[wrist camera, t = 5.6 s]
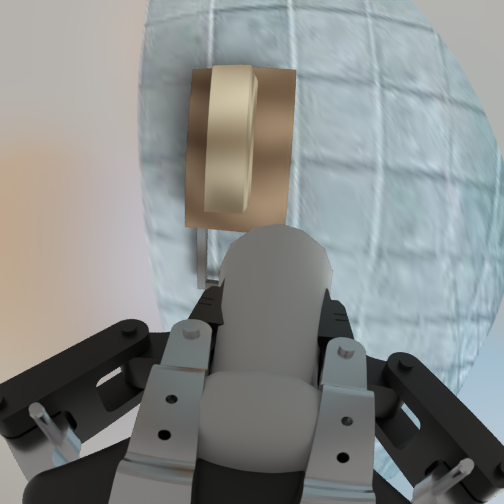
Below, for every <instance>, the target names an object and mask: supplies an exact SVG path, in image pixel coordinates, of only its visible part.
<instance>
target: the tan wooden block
mask: <svg viewBox="0 0 504 504" xmlns="http://www.w3.org/2000/svg"><path fill="white" fill-rule="evenodd" d="M295 87H296V70H291V69H277V68H252V66H251V65H213V68H210V69H195V70H193V74H192V83H191V94H190V106H189V120H188V136H187V155H186V186H185V227H191V228H197V283H198V289H203V290H206V289H208V288H209V287H211V286H218V284H219V281H217V280H209V279H207V238H208V229H215V230H226V231H237V232H249V231H250V230H252V229H253V228H258V227H263V226H267V225H272V224H277V223H279V224H283V225H285V223H286V212H287V201H288V190H289V178H290V165H291V152H292V137H293V122H294V106H295Z"/></svg>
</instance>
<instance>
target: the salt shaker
mask: <svg viewBox="0 0 504 504" xmlns="http://www.w3.org/2000/svg"><path fill="white" fill-rule="evenodd" d="M332 277H333V270H332V267H331V264H330V262H329V259H328V256H327V254H326V251H325V248H324V247H322V246H321V245H320V244H319V243H318V242H317V241H315V240H314V239H313V238H312V237H310V236H309V235H308V234H307V233H306V232H304V231H303V230H300V229H297V228H293V227H290V226H286V225H283V224H279V223H277V224H272V225H267V226H263V227H258V228H253V229H252V230H250V231H249V232H247V233H246V234H245V235H243V236H242V237H240V238H239V239H238V240H236V241H235V242H233V243H232V244H231V245H230V247H229V249H228V251H227V253H226V255H225V258H224V260H223V262H222V264H221V266H220V275H219V284H218V286H219V287H220V286H221V284H222V282H223V280H224V278H225V282H224V289H223V297H222V304H221V308H222V315H223V321H224V325H221V326H218V331H217V337H216V344H215V350H214V355H213V359H212V362H211V365H210V375H209V376H207V377H206V378H205V381H204V387H203V393H202V397H201V399H200V420H199V458H201V459H203V460H206V461H208V462H211V463H214V464H217V465H221V466H225V467H229V468H234V469H238V470H243V471H252V472H263V473H284V472H295V471H303V468H304V466H305V463H306V460H307V457H308V455H309V452H310V449H311V446H312V443H313V438H314V434H315V429H316V425H317V420H318V414H319V407H320V400H321V391H320V390H318V368H319V362H320V348H319V346H318V340H317V338H318V327H319V320H320V314H321V308H322V304H323V300H324V295H325V291H326V288H328V290H329V294H331V286H332Z"/></svg>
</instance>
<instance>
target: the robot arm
mask: <svg viewBox="0 0 504 504" xmlns="http://www.w3.org/2000/svg"><path fill="white" fill-rule="evenodd" d="M224 282H225V278H224V280H223V282H222V284H221V286H220V287H219V286H211V287H209V288H208V289H206V290H205V291H204V292H203V294H202V296H201V298H200V299H199V301H198V304H196V306H195V308H194V309H193V311H192V313H191V314H190V316H189V318H188V319H187V320H182V321H180V322H178V323H176V324H175V325H174V326H173V327H172V329H171V332H162V333H149V329H148V326H147V325H146V324H145V323H144V322H142V321H140V320H136V319H127V320H123V321H120V322H118V323H116V324H114V325H112V326H110V327H108V328H107V329H104V330H103V331H101V332H99V333H97V334H95V335H93V336H91V337H89V338H87V339H85V340H84V341H82V342H80V343H78V344H76V345H74V346H72V347H70V348H68V349H66V350H64V351H62V352H61V353H59V354H57V355H55V356H53V357H51V358H49V359H47V360H45V361H43V362H41V363H40V364H38V365H36V366H34V367H32V368H30V369H28V370H26V371H24V372H22V373H21V374H19V375H17V376H15V377H13V378H11V379H9V380H7V381H6V382H3V383H1V384H0V435H1V436H2V437H3V438H4V439H5V440H6V441H7V443H8V445H9V448H10V450H11V452H12V453H13V456H14V457H15V459H16V461H17V463H18V465H19V467H20V468H21V470H22V472H23V474H24V475H25V477H26V479H27V480H28V482H29V483H28V484H27V486H26V488H25V490H24V493H23V499H22V500H23V501H22V502H23V504H485V503H486V502H488V501H489V500H491V499H492V498H494V497H495V496H497V495H498V494H500V493H501V492H502V491H504V446H503V445H502V444H501V443H500V441H499V440H498V439H497V438H496V437H495V436H494V435H493V434H492V433H491V432H490V431H489V430H488V429H487V428H486V427H485V425H483V424H482V422H481V421H480V420H479V419H478V418H477V417H476V416H475V415H474V414H473V413H472V412H471V411H470V410H469V409H468V408H467V407H466V406H465V405H464V404H463V403H462V402H461V401H460V400H459V399H458V398H457V397H456V396H455V395H454V394H453V393H452V392H451V391H450V390H449V389H448V388H447V387H446V386H445V385H444V384H443V383H442V382H441V381H440V380H439V379H438V378H437V377H436V376H435V375H434V374H433V373H432V372H431V371H430V370H429V369H428V368H427V367H426V366H425V365H424V364H422V363H421V362H420V361H419V360H418V359H417V358H416V357H414V356H413V355H411V354H408V353H404V352H397V353H393V354H391V355H390V356H389V358H388V360H387V361H383V360H379V359H375V358H372V357H369V356H367V355H366V351H365V348H364V347H363V346H362V345H361V344H360V343H359V342H357V341H356V340H354V337H353V333H352V330H351V326H350V323H349V319H348V316H347V313H346V309H345V307H344V306H343V305H342V304H341V303H340V302H339V301H338V300H331V298H330V294H329V290H328V288H326V291H325V295H324V300H323V304H322V308H321V314H320V320H319V327H318V338H317V340H318V346H319V348H320V362H319V368H318V390H320V391H321V400H320V407H319V414H318V420H317V425H316V429H315V434H314V438H313V443H312V446H311V449H310V452H309V455H308V457H307V460H306V463H305V466H304V468H303V471H295V472H284V473H263V472H252V471H243V470H238V469H234V468H229V467H225V466H221V465H217V464H214V463H211V462H208V461H206V460H203V459H201V458H199V420H200V399H201V397H202V393H203V387H204V381H205V378H206V377H207V376H209V375H210V365H211V362H212V359H213V355H214V350H215V344H216V337H217V331H218V326H221V325H224V321H223V315H222V308H221V304H222V297H223V289H224ZM118 367H120V368H121V371H122V372H120V373H119V374H117V375H116V376H114V377H112V378H111V379H109V380H108V381H106V382H104V383H103V384H101V385H100V386H98V387H96V385H97V383H98V381H99V380H100V379H101V378H102V377H104V376H105V375H107V374H109V373H110V372H112V371H113V370H115V369H117V368H118ZM139 403H141V404H140V407H139V411H138V414H137V417H136V421H135V424H134V428H133V432H132V435H131V437H129V438H127V439H125V440H122V441H120V442H118V443H116V444H114V445H112V446H109V447H107V448H104V449H102V450H100V451H97V452H95V453H93V454H90V455H88V456H85V457H83V458H80V459H79V457H80V455H79V453H80V450H81V444H82V443H84V442H85V441H87V440H88V439H90V438H91V437H93V436H94V435H96V434H97V433H99V432H100V431H102V430H103V429H104V428H106V427H107V426H109V425H110V424H112V423H113V422H115V421H116V420H117V419H119V418H120V417H122V416H123V415H124V414H126V413H127V412H129V411H130V410H131V409H133V408H134V407H135V406H137V405H138V404H139ZM404 403H405V404H406V405H407V406H408V408H409V409H410V410H411V411H412V412H413V413H414V414H415V416H416V417H417V418H418V419H419V421H420V430H419V429H418V427H417V426H416V425H415V424H414V423H413V422H412V420H411V419H410V418H409V417H408V416H407V414H406V413H405V412H404V411H403V410H402V409H401V407H402V405H403V404H404ZM375 436H376V438H377V439H378V440H379V442H380V443H381V444H382V446H383V447H384V449H385V450H386V451H387V453H388V454H389V455H390V457H391V458H392V460H393V461H394V462H395V464H396V465H397V466H398V468H399V469H400V470H401V472H402V473H403V475H404V476H405V477H406V479H407V480H408V481H409V483H410V484H411V485H412V486H413V488H414V490H413V498H412V500H411V502H410V501H409V500H408V499H407V498H405V497H404V496H403V495H402V494H401V493H400V492H398V491H397V490H396V489H395V488H394V487H393V486H392V485H391V484H389V483H388V482H387V481H386V480H385V479H384V478H383V477H382V476H381V475H380V474H379V473H377V472H376V471H375V470H374V469H373V464H374V442H375Z"/></svg>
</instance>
